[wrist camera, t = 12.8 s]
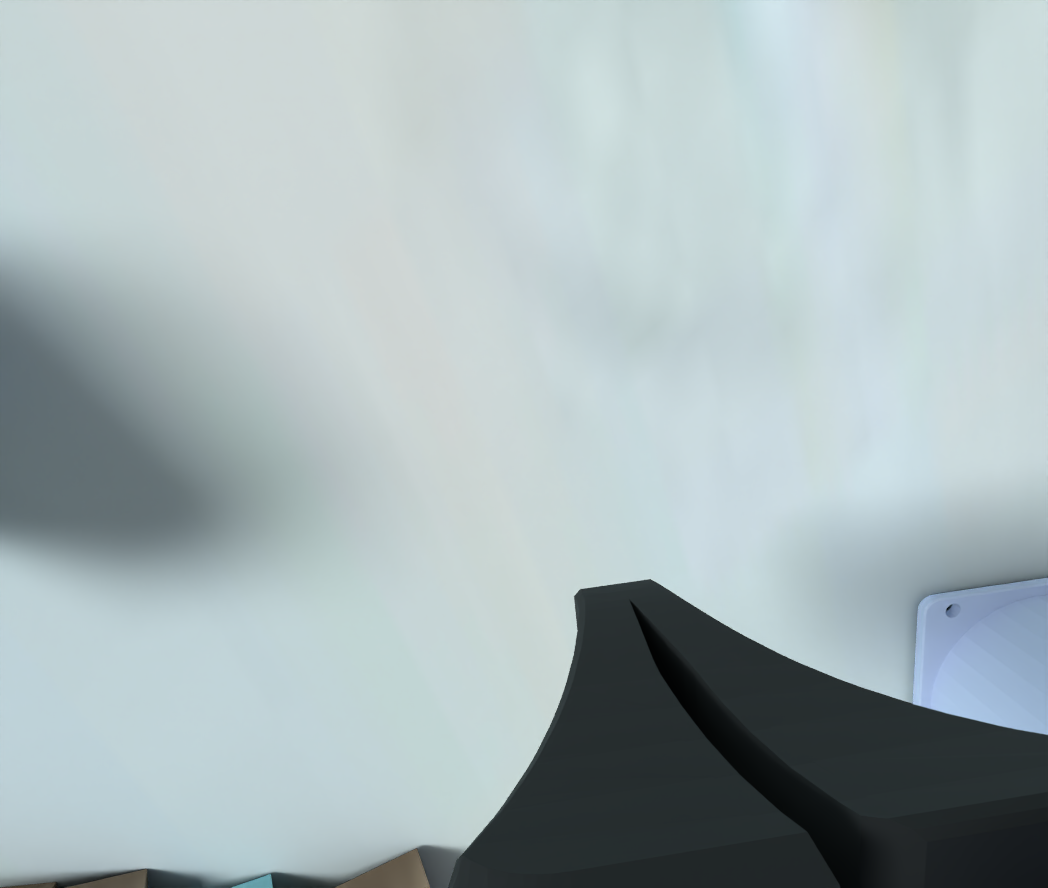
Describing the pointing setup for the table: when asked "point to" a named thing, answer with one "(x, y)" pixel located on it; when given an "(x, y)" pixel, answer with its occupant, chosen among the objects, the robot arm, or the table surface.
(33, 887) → the end domino
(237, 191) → the table surface
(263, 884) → the domino
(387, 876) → the domino
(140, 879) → the domino
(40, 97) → the table surface
